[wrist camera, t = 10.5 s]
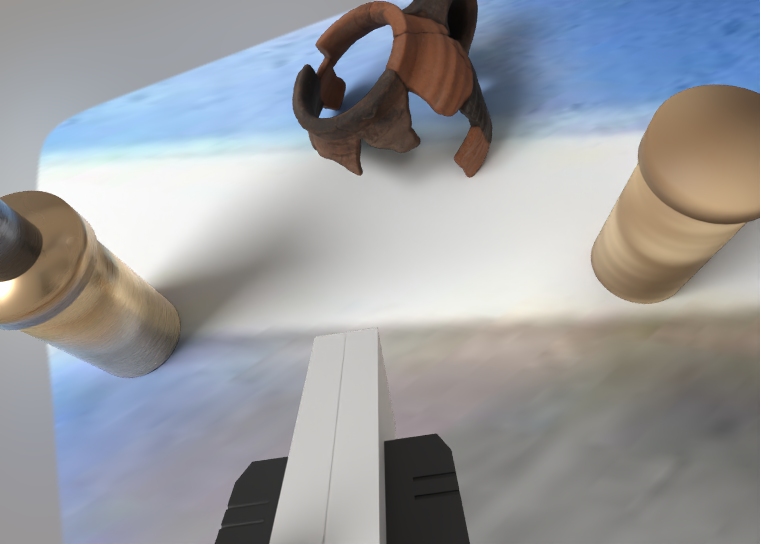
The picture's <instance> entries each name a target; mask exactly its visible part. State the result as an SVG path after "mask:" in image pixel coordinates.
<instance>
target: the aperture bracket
mask: <svg viewBox="0 0 760 544" xmlns="http://www.w3.org/2000/svg"><path fill="white" fill-rule="evenodd" d="M0 329H3V330H21V331H22V332H25V333H27V334H29V335H31V336H33V337H35V338H37V339H39V340H41V341H43V342H45V343H47V344H50V345H52V346H54V347H56V348H58V349H60V350H62V351H64V352H66V353H68V354H70V355H73V356H75V357H77V358H79V359H81V360H83V361H85V362H87V363H89V364H91V365H94V366H96V367H98V368H100V369H102V370H104V371H106V372H108V373H110V374H113V375H115V376H118V377H123V378H133V377H139V376H142V375H145V374H147V373H150V372H151V371H153V370H155V369H156V368H158V367H159V366H160V365H161V364H163V363H164V362H165V361H166V360H167V359H168V357H169V356H170V355H171V353H172V352H173V350H174V348H175V347H176V344H177V342H178V339H179V334H180V319H179V315H178V313H177V311H176V309H175V307H174V306H173V305H172V304H171V303H170V302H169V301H168V300H167V299H166V298H164V297H163V296H162V295H161V294H160V293H159V292H157V291H156V290H155V289H154V288H153V287H152V286H150V285H149V284H148V283H147V282H146V281H144V280H143V279H142V278H141V277H140V276H139V275H137V274H136V273H135V272H134V271H133V270H132V269H130V268H129V267H128V266H127V265H126V264H125V263H123V262H122V261H121V260H120V259H119V258H117V257H116V256H115V255H114V254H113V253H112V252H110V251H109V250H108V249H107V248H106V247H105V246H103V245H102V244H101V243H100V242H99V241H98V240H97V239H96V235H95V233H94V230H93V229H92V227H91V225H90V224H89V223H88V222H87V221H86V220H85V219H84V218H83V217H82V216H81V215H80V214H79V213H78V212H76V211H75V210H74V209H73V208H72V207H71V206H70V205H68V204H67V203H66V202H65V201H64V200H62V199H61V198H59V197H57V196H55V195H53V194H50V193H47V192H42V191H23V192H17V193H13V194H9V195H6V196H3V197H1V198H0Z"/></svg>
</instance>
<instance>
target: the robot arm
mask: <svg viewBox="0 0 760 544" xmlns="http://www.w3.org/2000/svg"><path fill="white" fill-rule="evenodd" d="M221 525H222V528H221V529H220V530H219V533H218V536H217V539H216V542H215V544H470V542H469V537H468V532H467V527H466V522H465V517H464V512H463V507H462V501H461V496H460V492H459V486H458V481H457V476H456V471H455V466H454V461H453V456H452V451H451V449H450V448H449V447H448V446H447V445H446V444H445V442H444V441H443V440H442V439H441V438H440V437H439V436H438V435H437V434H430V435H423V436H416V437H409V438H402V439H396V427H395V419H394V414H393V408H392V403H391V398H390V392H389V387H388V382H387V376H386V371H385V365H384V360H383V355H382V349H381V344H380V338H379V333H378V328H377V327H376V328H369V329H363V330H356V331H350V332H343V333H337V334H330V335H324V336H317V337H315V340H314V344H313V349H312V353H311V358H310V362H309V367H308V371H307V376H306V380H305V385H304V389H303V394H302V398H301V403H300V407H299V412H298V416H297V421H296V425H295V430H294V434H293V439H292V443H291V448H290V452H289V457H283V458H276V459H269V460H262V461H255V462H252V463H251V464H250V465H249V467H248V468H247V469H246V470H245V471H244V473H243V474H242V475H241V476H240V478H239V479H238V480H237V481H236V482H235V485H234V488H233V491H232V494H231V497H230V500H229V503H228V510H226V512H225V515H224V518H223V521H222V524H221Z"/></svg>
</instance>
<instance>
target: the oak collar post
mask: <svg viewBox="0 0 760 544" xmlns="http://www.w3.org/2000/svg"><path fill="white" fill-rule="evenodd" d="M758 218H760V94H759V93H757V92H754V91H751V90H748V89H745V88H740V87H736V86H729V85H703V86H697V87H693V88H689V89H686V90H683V91H681V92H679V93H677V94H675V95H673V96H671V97H670V98H669V99H667V100H666V101H665V102H664V103H663V104H662V105H661V106H660V107H659V108H658V110H657V111H656V113H655V114H654V116H653V118H652V120H651V122H650V124H649V126H648V128H647V130H646V132H645V133H644V135H643V137H642V140H641V142H640V145H639V149H638V164H637V166H636V168H635V169H634V171H633V173H632V175H631V177H630V179H629V180H628V182H627V184H626V186H625V188H624V189H623V191H622V193H621V195H620V197H619V199H618V200H617V202H616V204H615V206H614V208H613V209H612V211H611V213H610V215H609V217H608V219H607V220H606V222H605V224H604V226H603V228H602V229H601V231H600V233H599V235H598V237H597V239H596V240H595V242H594V245H593V247H592V252H591V262H592V267H593V270H594V273H595V275H596V277H597V278H598V280H599V281H600V282H601V283H602V285H603V286H604V287H605V288H606V289H607V290H609V291H610V292H611V293H613V294H614V295H616V296H618V297H620V298H622V299H624V300H627V301H630V302H635V303H642V304H649V303H657V302H660V301H663V300H665V299H668V298H669V297H671V296H673V295H674V294H675V293H676V292H677V291H678V290H679V289H680V288H681V287H682V286H683V285H684V284H685V283H686V282H687V281H688V280H689V279H690V278H691V277H692V276H693V275H694V274H695V273H696V272H697V271H698V270H699V269H700V268H701V267H702V266H703V265H704V264H705V263H707V262H708V261H709V260H710V259H711V258H712V257H713V256H714V255H715V254H716V253H717V252H718V251H719V250H720V249H721V248H722V247H723V246H724V245H725V244H726V243H727V242H728V241H729V240H730V239H731V238H732V237H733V236H734V235H735V234H736V233H737V232H738V231H739V230H740V229H741V228H742V227H743V226H744V225H745V224H746V223H747V222H749V221H753V220H756V219H758Z"/></svg>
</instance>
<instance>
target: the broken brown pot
mask: <svg viewBox="0 0 760 544" xmlns="http://www.w3.org/2000/svg"><path fill="white" fill-rule="evenodd" d="M477 13H478V5H477V0H413V2H412V3H411V4H410V5H409V6H408V7H406V8H405V9H403V10H401V9H400V8H399V7H398V6H396V5H394V4H392V3H389V2H385V1H374V2H369V3H366V4H364V5H361V6H359V7H357V8H355V9H353V10H351V11H349V12H348V13H346V14H345V15H343V16H342V17H341V18H340V19H339V20H337V21H336V22H335V23H334V24H332V25H331V26H330V27H329V28H328V29H327V30H326V31H325V32H324V34H322V36H321V37H320V38H319V40H318V41H317V43H316V47H317V48H318V50H319V51H320V52H321V53H322V54H323V55H324V56H325V58H324V60H323V62H322V63H321V65H320V67H319V69H318V71H317V73H315V71H314V69H313V68H312V67H311V66H310V65H308V64H307V65H305V66H304V67H303V69H302V70H301V71H300V72H299V73H298V75H297V78H296V82H295V85H294V92H293V110H294V114H295V116H296V118H297V119H298V122H299V123H300V125H301V126H302V128H304V129H306V130H307V131H308V133H309V138H310V141H311V143H312V146H313V148H314V149H315V150H317V151H318V153H319V155H320V156H322V157H324V158H326V159H330V160H334V161H335V162H337V163H339V164H341V165H343V166H344V167H346V168H347V169H348V170H349V171H351V172H353V173H355V174H357V175H359V176H361V175H362V173H363V171H362V168H361V163H360V154H361V139H363V140H364V141H366V142H367V143H368V144H369V145H370V146H373V147H376V148H380V149H392V150H395V151H397V152H400V153H404V152H407V151H410V150H411V149H414V148H416V147H417V146H418V145H419V144H420V138H419V137H418V136H417V134H416V133H415V131H414V130H413V129H412V127H411V126H412V121H411V114H410V110H409V97H408V92H409V91H410V92H412V93H415V94H416V95H418V96H420V97H421V98H422V99H424V100H425V101H426V102H427V103H428V104H429V105H430V106H431V108H432V109H433V110H434V111H435V112H436V113H438V114H440V115H441V114H442V115H444V116H452V115H454V114H455V113H456V112H457V111H458V110H460V112H461V113H462V114H464V115H465V116H466V117H467V118H468V119H469V122H470V125H471V128H470V130H469V132H468V134H467V137H466V138H465V140H464V142H463V144H462V145H461V147H460V149H459V150H458V152H457V153H456V154H455V157H454V160H455V162H456V163H457V164H458V165H459V166H460V167H461V168H463V170H464V172H465V174H466V176H468V177H472V176H473V175H475V173H476V172H477V170H478V169H479V168H480V167H481V165H482V163H483V161H484V159H485V157H486V155H487V152H488V149H489V145H490V143H491V139H492V122H491V118H490V115H489V113H488V111H487V108H486V104H485V102H484V99H483V96H482V92H481V88H480V85H479V83H478V80H477V76H476V73H475V70H474V68H473V66H472V63H471V61H470V59H469V57H468V53H469V49H470V46H471V43H472V41H473V36H474V33H475V28H476V23H477ZM386 25H391V27H392V30H393V37H394V40H393V47H392V51H391V55H390V58H389V61H388V63H387V65H386V70H385V71H384V72H383V74H382V75H381V77H380V78H379V79H378V81H377V82H376V84H375V85H374V87H373V88H372V89H371V90H370V92H369V93H368V94H367V95H366V96H365V97H364V98H363V99H362V100H360V101H359V102H358V103H357V104H356V105H355V106H353V107H352V108H350V109H349V110H348V111H346V112H344V113H342V114H340V115H339V116H335V117H332V118H319V116H320V113H321V111H322V109H323V108H325V109H332V110H338V109H339V108H340V106H341V104H342V101H343V98H344V93H345V89H346V84H345V82H344V81H343V79H341V78H339V77H337V76H336V74H335V72H334V69H333V67H334V66H335V65H336V63H337V61H338V60H339V59H340V58H341V56H342V55H343V54H344V53H345V52H346V51H347V50H348V49H349V48H350V46H351V45H352V44H354V43H355V42H356V41H357V40H358V39H360V38H362V37H364V36H365V35H367V34H368V33H370V32H371V31H373V30H375V29H377V28H380V27H383V26H386Z"/></svg>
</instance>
